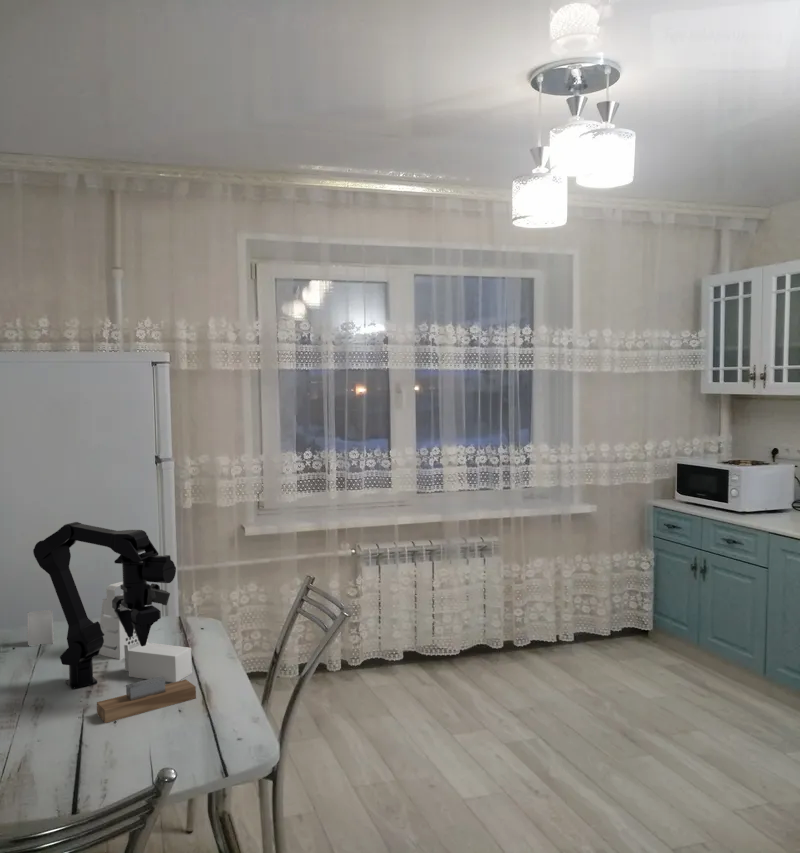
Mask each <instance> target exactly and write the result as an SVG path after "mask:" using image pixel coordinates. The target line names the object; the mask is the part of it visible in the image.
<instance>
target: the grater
mask: <svg viewBox="0 0 800 853" xmlns="http://www.w3.org/2000/svg"><path fill="white" fill-rule="evenodd" d="M122 584H123V580H122V581H119V582H115V583H111V584H108V586H107V587H106V590H105V591H106V592H105V593H106V597H105V598H103V599H102V602H101V611H100V612H101V613H100V619H99V623H100V627H101V630H102V632H103V633H104V636H103V639H104V643H103V645H102V647H101V649H100V651H99V654H98V655H100V656H101V655H102V656H105V657H109V658H114V659H116V660H123V659H125V650H124V645H132V644H138V643H140V642H139V640H138V638H137V635H136V633H135V630H134V632H133V636H132V637H128V635H127V633H126V632H125V630H124V628H123V626H122V624H121V622H120V620H119V618H118V616H117V614H116V613H115V611H114V610H115V609H113V608H112V600H113V599H114V598H115V597H117V596H122V595H123V593H121V594H118V595H116V592H115V591H116V589H117V588H118V587H121V586H120V585H122ZM146 643H150V642H149V638H148V639H147V642H146ZM115 647H116V648H115ZM114 648H115V649H114Z"/></svg>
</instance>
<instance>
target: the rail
mask: <svg viewBox="0 0 800 853" xmlns="http://www.w3.org/2000/svg"><path fill="white" fill-rule="evenodd" d="M196 688H197V686H195V685H194V684H193V683H192V682H190V681H189V680H187V679H182V680H180V681H178V682H174V683H172V682H169V683H165V692H163V693H160V694H156V695H152V696H148V697H144V698H140V699H137V700H133V701H130V700H129V699H128V698H127V697H126V694H123V695H120V696H117V697H113V698H107V699H105V700H104V699H103V700H100V701H97V702H96V714H97V716H98V718H100V719H101V720H102V721H103V722H104V723H105V724H107V723H110V722H115V721H119V720H121V719H126V718H128V717H133V716H137V715H140V714H144V713H148V712H150V711H155V710H158V709H161V708H166V707H169V706H172V705H173V706H174V705H176V704H180V703H184V702H187V701H191V700H195V699H197V689H196Z"/></svg>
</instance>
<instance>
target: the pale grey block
mask: <svg viewBox="0 0 800 853" xmlns="http://www.w3.org/2000/svg"><path fill="white" fill-rule="evenodd" d="M53 614H54V613H53V609H48V610H47V609H46V610H38V611H28V612H27V625H26V626H27V628H26V629H27V646H28V645H38V644H51V645H54V642H55V634H54V631H55V630H54V615H53ZM53 641H54V642H53Z"/></svg>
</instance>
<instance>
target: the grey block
mask: <svg viewBox="0 0 800 853" xmlns="http://www.w3.org/2000/svg"><path fill="white" fill-rule="evenodd" d="M165 685H166V682H165V679H163V678H162V677H161V676H159V677H155V678H151V679H144V680H140V681H139V680H138V681H137V682H131V683H128V684H126V685H125V690H126V692H125V693H126V694H125V695H126V697H127V698H128V699H129V700H130V701H133V700H137V699H140V698H144V697H148V696H152V695H156V694H160V693H163V692H165Z"/></svg>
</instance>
